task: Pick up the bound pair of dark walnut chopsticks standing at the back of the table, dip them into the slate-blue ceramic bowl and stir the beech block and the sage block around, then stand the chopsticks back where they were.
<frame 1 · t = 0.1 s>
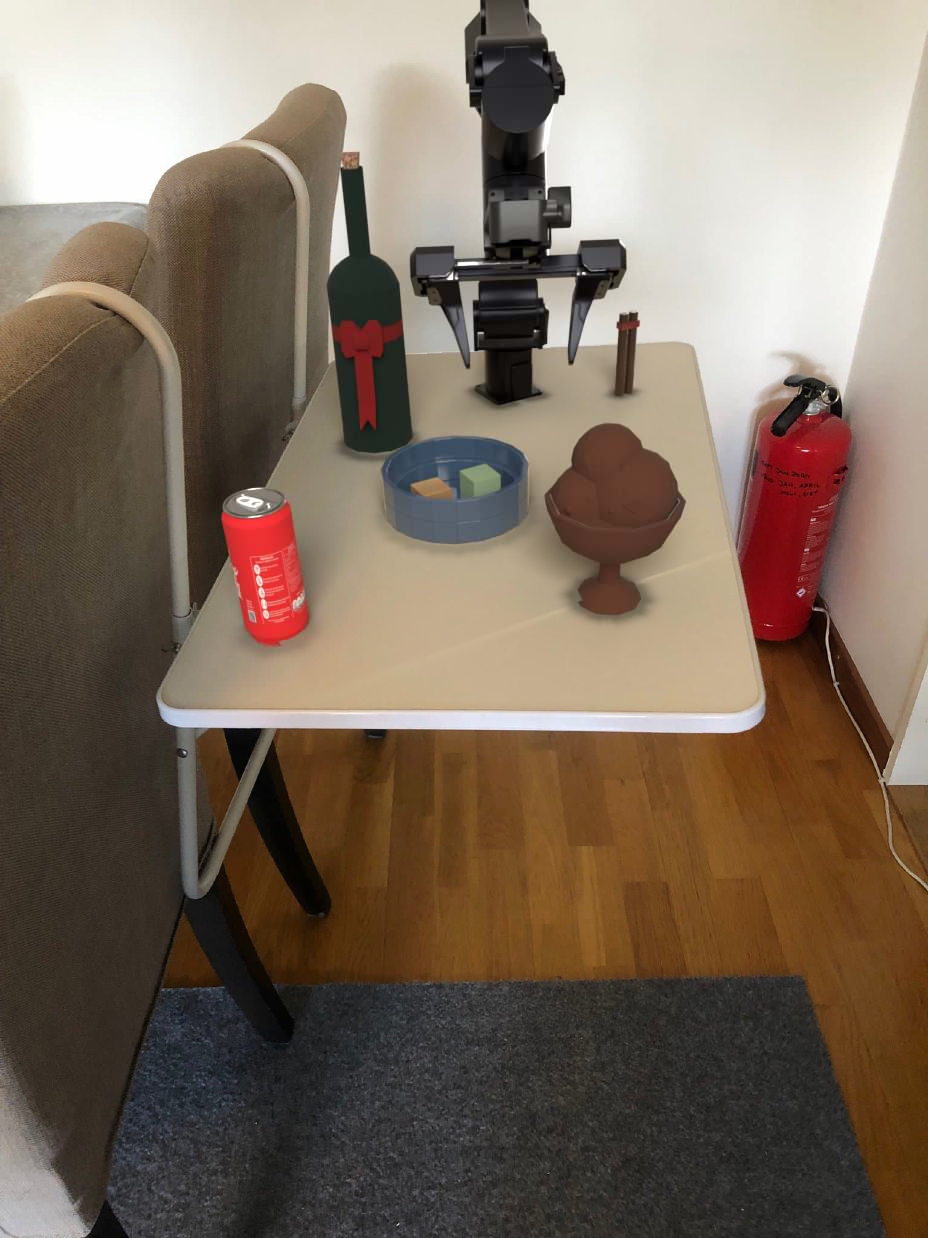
hand: (519, 366, 82), 15 cm above the table, tool tilted 35°, fingers open, 9 cm apart
beech block: (432, 513, 90), point 1 cm above the table, touching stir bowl
beverage can: (279, 632, 76), on the table
ice cream bowl: (607, 598, 78), on the table
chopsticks: (623, 392, 115), on the table
sage block: (480, 499, 92), point 1 cm above the table, touching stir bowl
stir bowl: (457, 511, 91), on the table
wine bottle: (377, 448, 105), on the table
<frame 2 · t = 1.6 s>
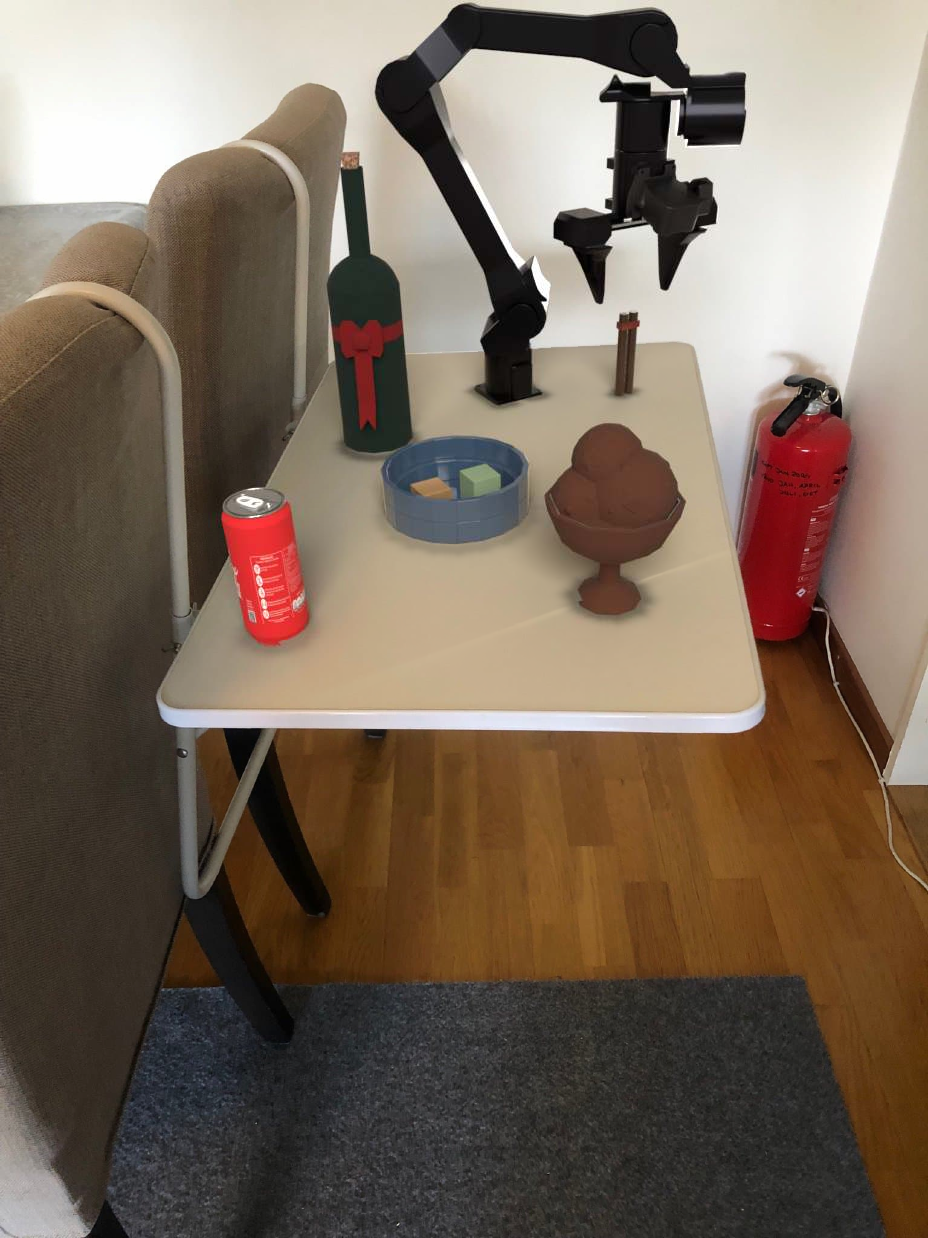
hand: (632, 296, 107), 12 cm above the table, tool pointing down, fingers open, 9 cm apart
nothing on the table moved.
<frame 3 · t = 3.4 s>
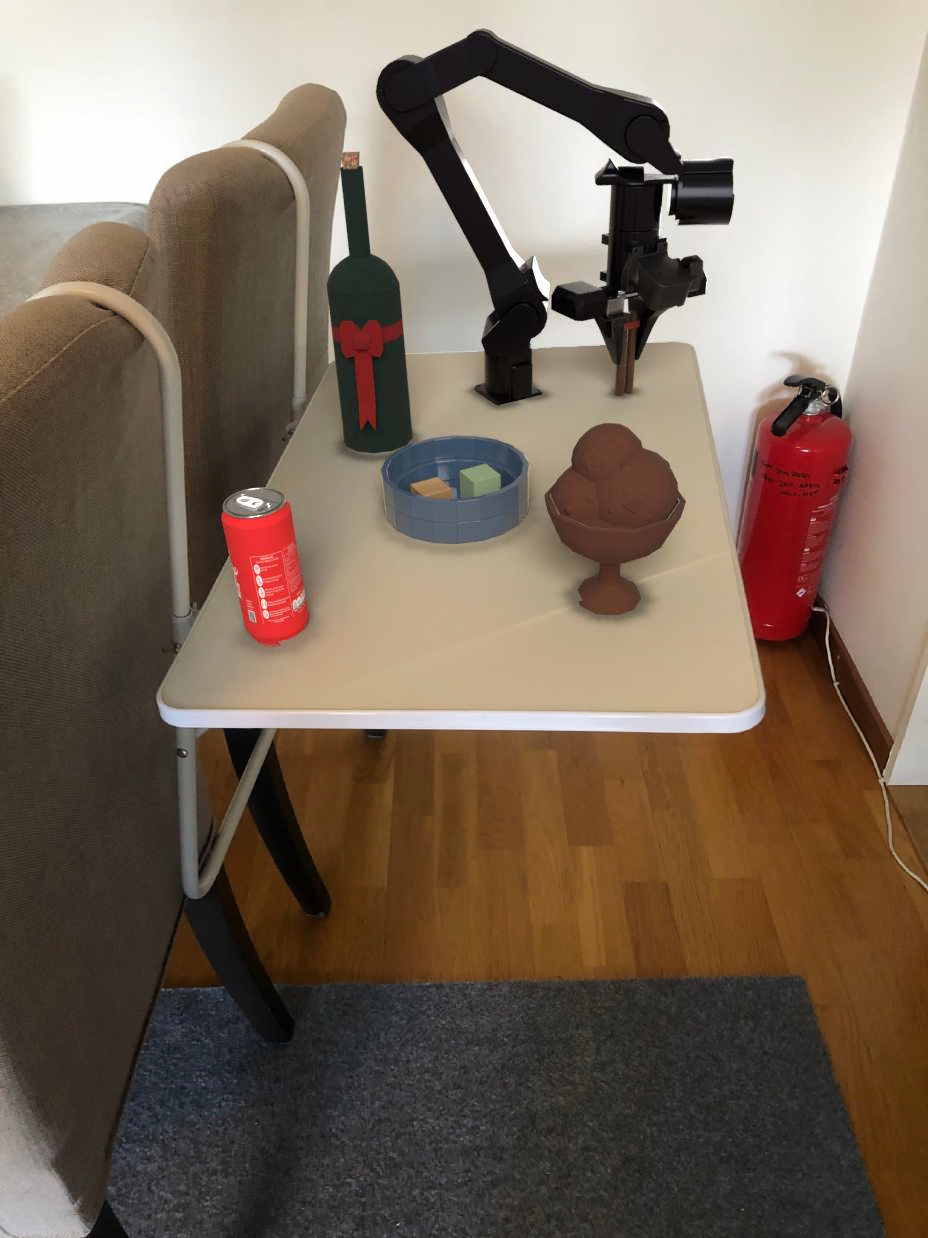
hand: (625, 361, 112), 4 cm above the table, tool pointing down, fingers closed on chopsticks, 2 cm apart
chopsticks: (623, 392, 115), on the table, touching gripper
everything else where it was.
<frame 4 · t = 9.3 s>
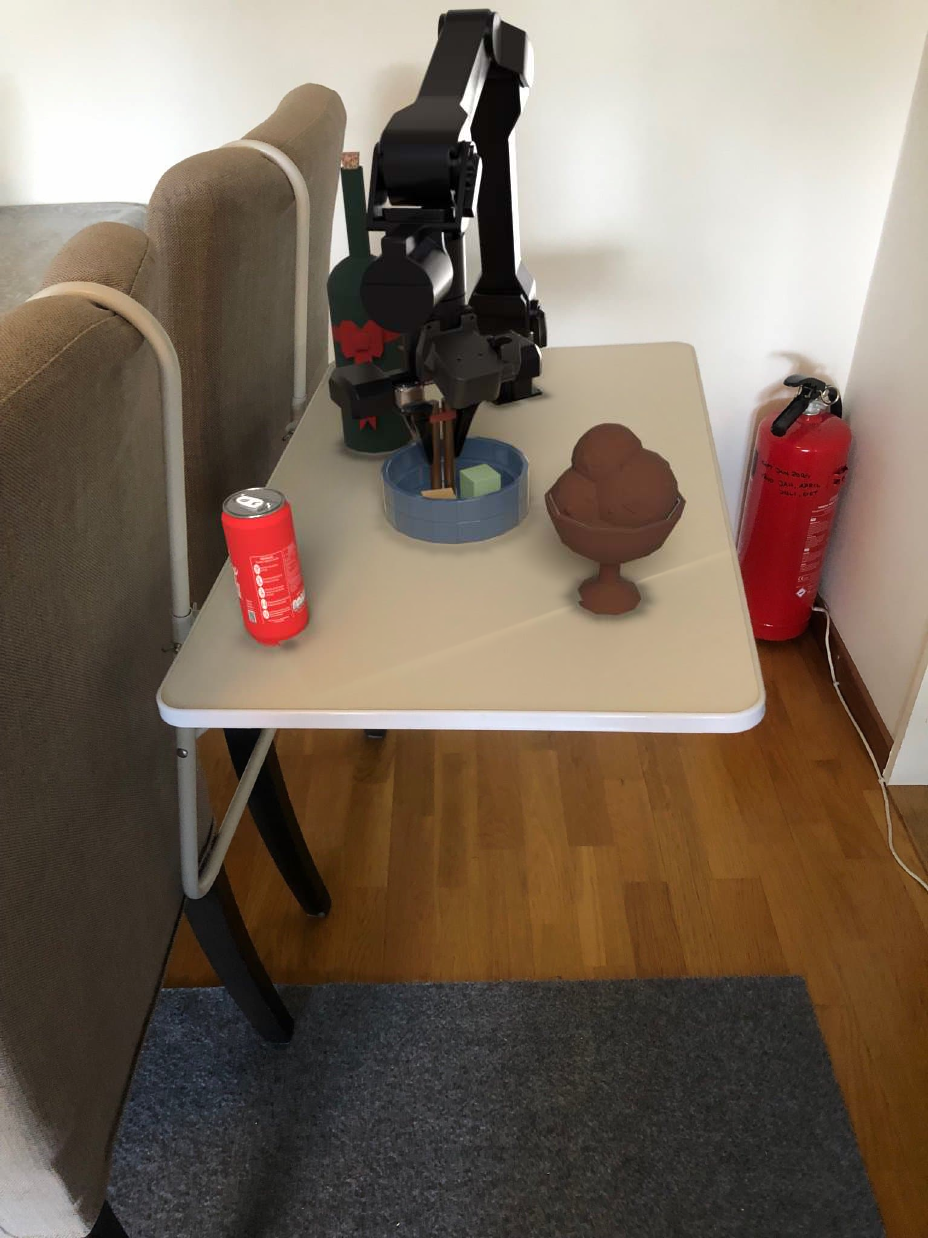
hand: (442, 459, 87), 6 cm above the table, tool pointing down, fingers closed on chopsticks, 2 cm apart
beech block: (440, 524, 88), point 1 cm above the table, touching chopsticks, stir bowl
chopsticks: (443, 495, 89), point 2 cm above the table, touching beech block, gripper
everything else where it was.
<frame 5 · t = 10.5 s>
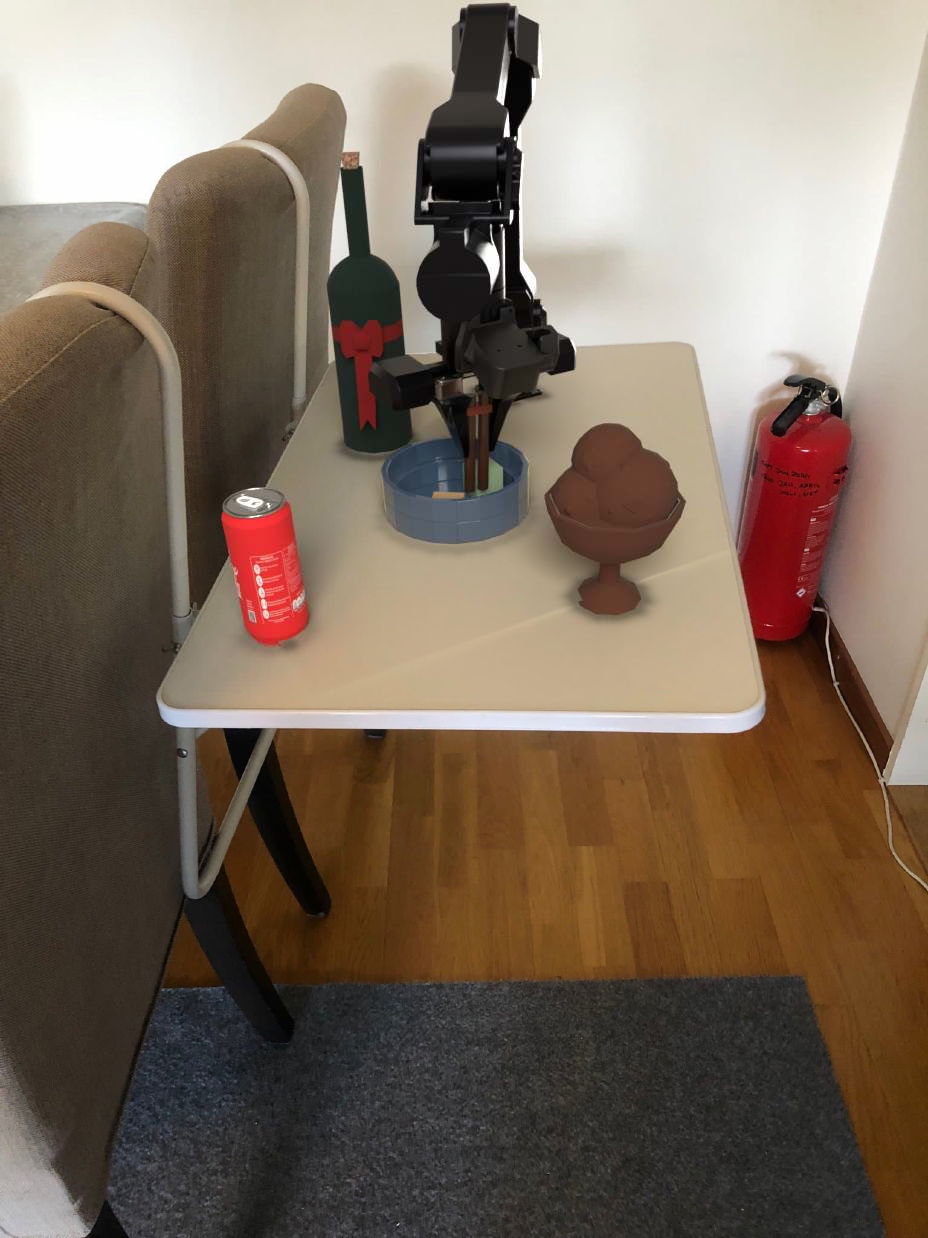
hand: (476, 453, 88), 6 cm above the table, tool pointing down, fingers closed on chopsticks, 2 cm apart
beech block: (448, 527, 88), point 1 cm above the table, touching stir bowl
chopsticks: (476, 489, 90), point 2 cm above the table, touching gripper, sage block
sage block: (483, 492, 93), point 1 cm above the table, touching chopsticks, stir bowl
everything else where it was.
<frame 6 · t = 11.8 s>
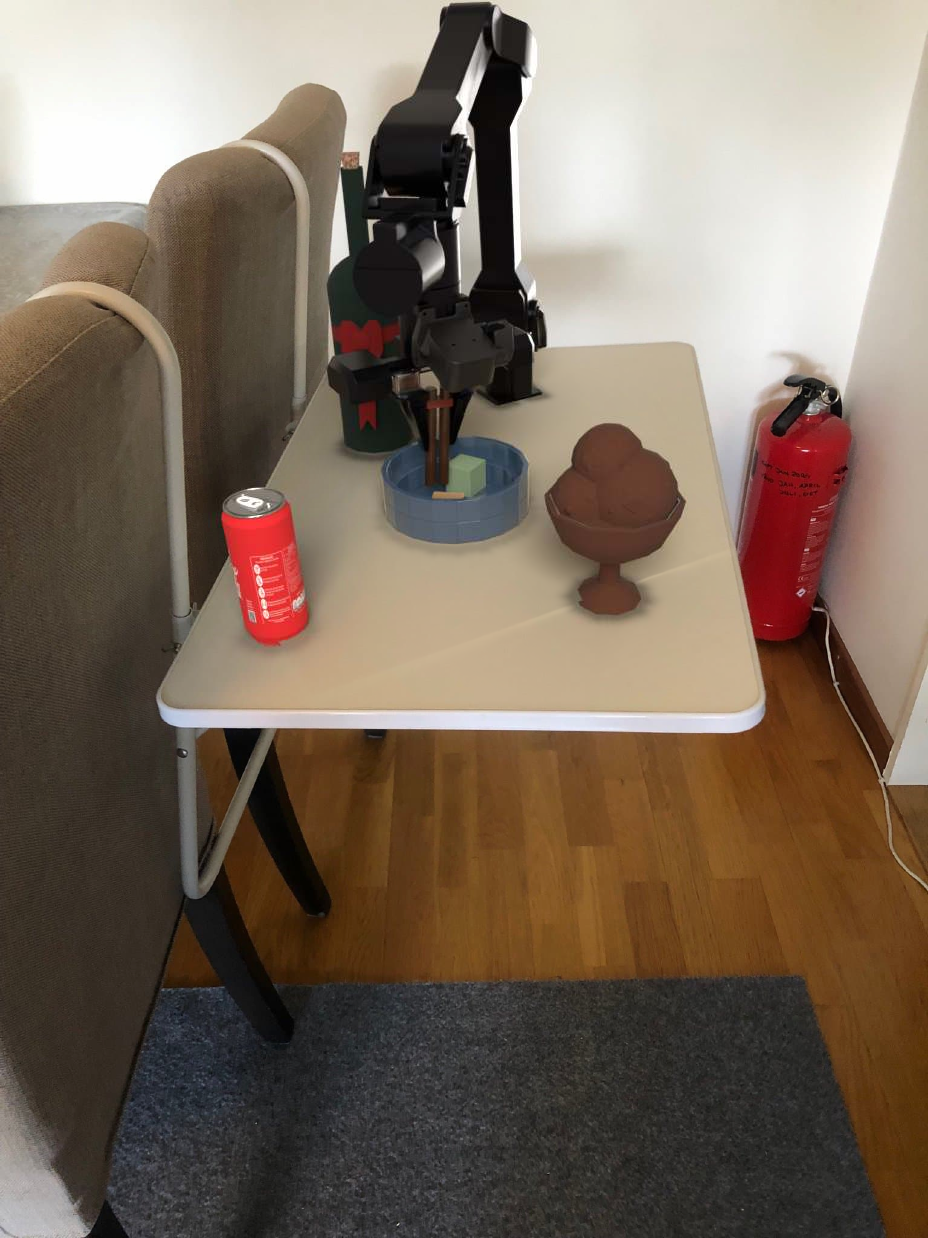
hand: (437, 447, 89), 6 cm above the table, tool pointing down, fingers closed on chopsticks, 2 cm apart
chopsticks: (436, 483, 91), point 2 cm above the table, touching gripper
sage block: (466, 488, 94), point 1 cm above the table, touching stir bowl
everything else where it was.
when the fingers open (4 cm above the table, at t = 18.1 s): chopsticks stays where it is, on the table.
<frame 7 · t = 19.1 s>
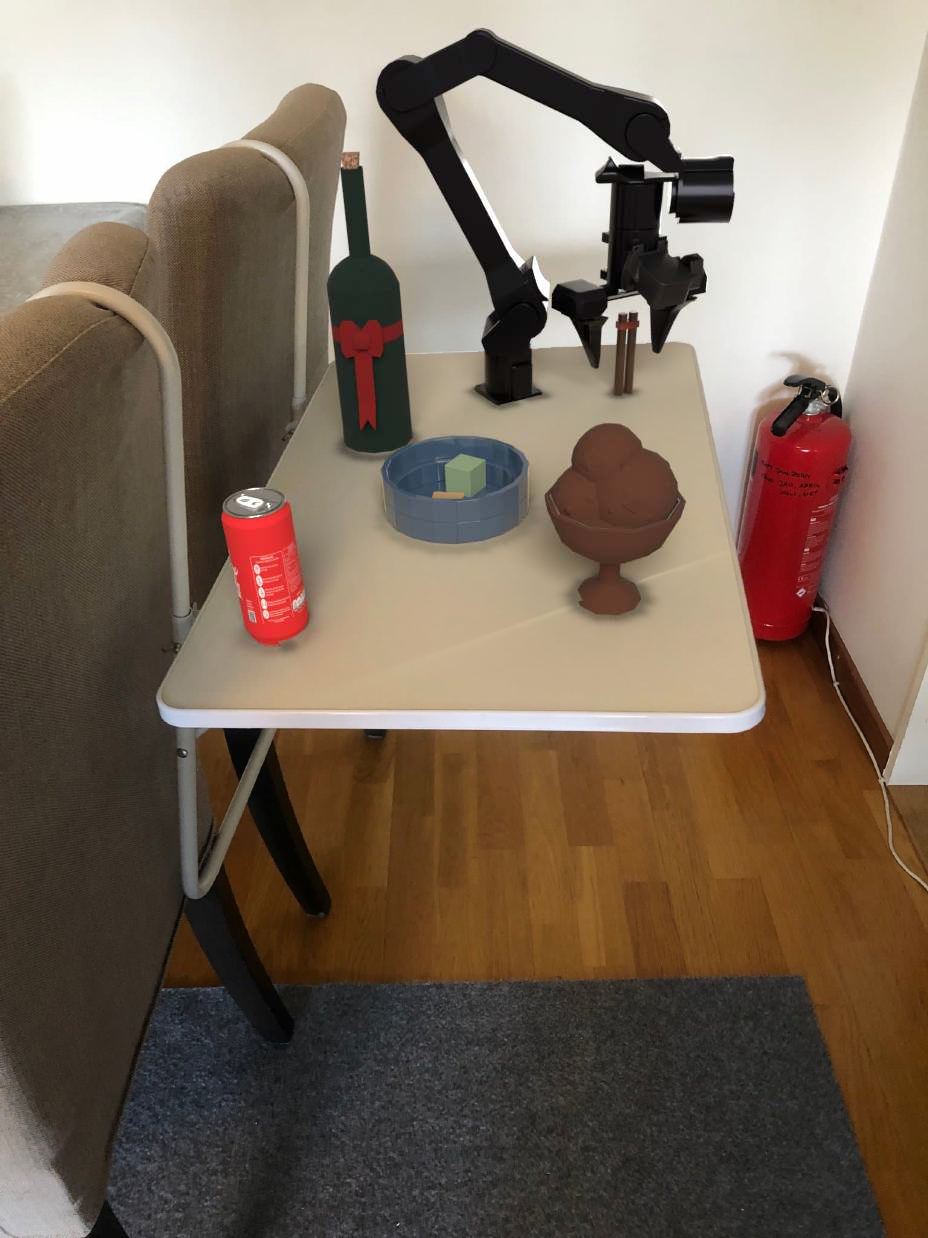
hand: (625, 360, 112), 4 cm above the table, tool pointing down, fingers open, 9 cm apart
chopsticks: (622, 392, 115), on the table
everything else where it was.
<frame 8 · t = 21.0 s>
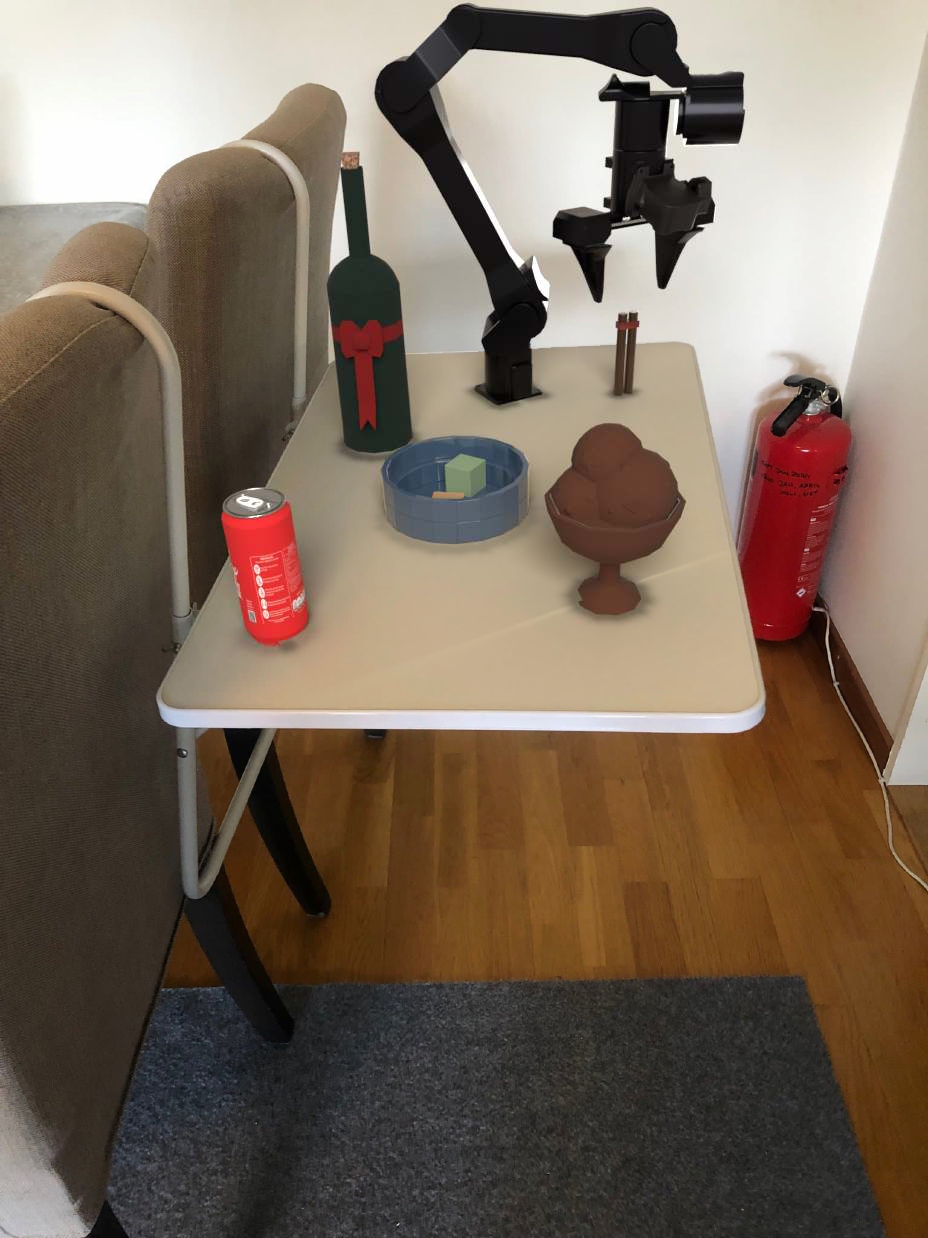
hand: (630, 295, 108), 12 cm above the table, tool pointing down, fingers open, 9 cm apart
nothing on the table moved.
at the end: beech block moved 3.2 cm from its start; beech block inside the target area in the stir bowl (4.1 cm from its centre), point 0.6 cm above the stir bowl's base; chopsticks inside the target area (0.1 cm from its centre), on the table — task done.
